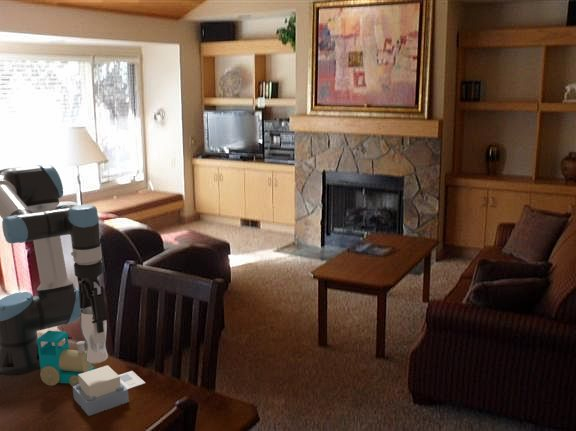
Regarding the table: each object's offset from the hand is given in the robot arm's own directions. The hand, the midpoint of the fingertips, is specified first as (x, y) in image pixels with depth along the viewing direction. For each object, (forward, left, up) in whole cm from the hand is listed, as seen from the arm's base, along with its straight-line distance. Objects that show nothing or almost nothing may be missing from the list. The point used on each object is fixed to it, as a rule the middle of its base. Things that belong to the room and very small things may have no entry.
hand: (95, 337), depth 177 cm
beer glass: (0, 0, -7) cm, 7 cm away
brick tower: (0, 0, -20) cm, 20 cm away
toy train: (-17, -3, -20) cm, 27 cm away
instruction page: (-6, +11, -20) cm, 24 cm away
